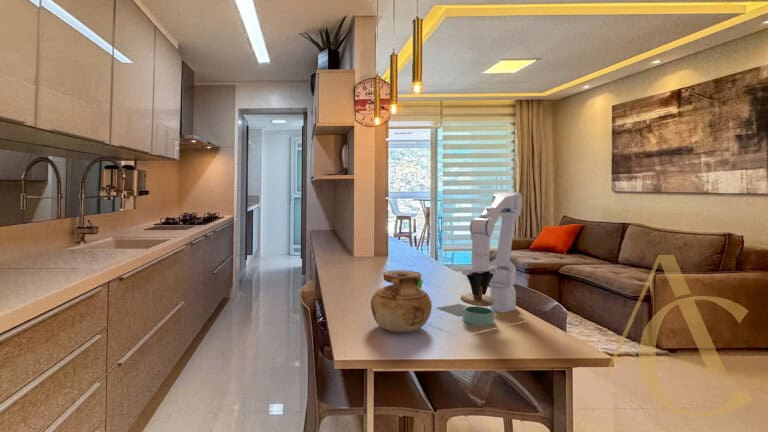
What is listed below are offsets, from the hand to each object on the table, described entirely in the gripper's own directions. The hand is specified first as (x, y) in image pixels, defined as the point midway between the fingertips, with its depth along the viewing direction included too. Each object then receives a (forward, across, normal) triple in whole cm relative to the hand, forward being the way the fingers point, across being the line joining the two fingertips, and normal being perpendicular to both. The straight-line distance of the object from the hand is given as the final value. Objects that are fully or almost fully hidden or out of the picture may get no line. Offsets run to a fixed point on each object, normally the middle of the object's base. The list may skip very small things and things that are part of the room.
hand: (479, 294), depth 138 cm
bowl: (+9, 0, 0) cm, 9 cm away
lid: (+2, 0, -1) cm, 2 cm away
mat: (+9, -4, -13) cm, 16 cm away
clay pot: (+10, +27, -7) cm, 29 cm away
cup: (+10, +11, -23) cm, 27 cm away
